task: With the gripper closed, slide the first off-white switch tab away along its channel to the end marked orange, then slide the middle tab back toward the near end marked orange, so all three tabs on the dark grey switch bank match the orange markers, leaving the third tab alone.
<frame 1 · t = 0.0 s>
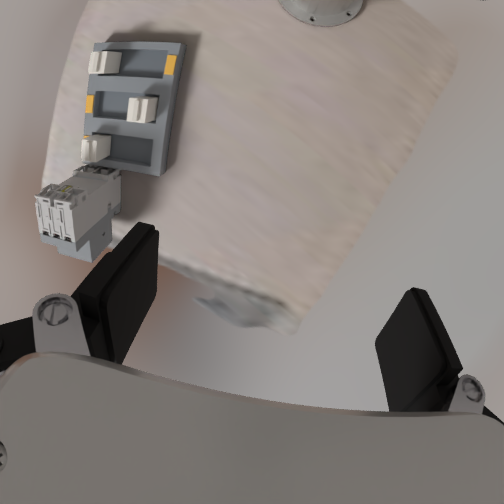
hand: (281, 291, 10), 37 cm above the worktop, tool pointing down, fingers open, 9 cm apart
tab 2: (143, 109, 38), point 4 cm above the worktop, slide at 8.0 cm
switch bank: (131, 104, 41), on the worktop
tab 3: (95, 147, 41), point 4 cm above the worktop, slide at 0.0 cm
circuit breaker: (104, 201, 51), on the worktop
tab 1: (104, 62, 34), point 4 cm above the worktop, slide at 0.0 cm
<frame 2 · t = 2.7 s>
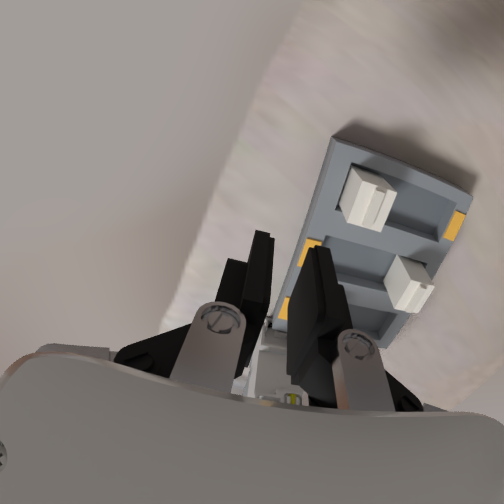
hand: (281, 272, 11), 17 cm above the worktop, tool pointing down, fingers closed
tab 2: (408, 284, 27), point 4 cm above the worktop, slide at 8.0 cm
switch bank: (366, 254, 30), on the worktop
circuit breaker: (278, 356, 40), on the worktop
tab 1: (366, 197, 23), point 4 cm above the worktop, slide at 0.0 cm
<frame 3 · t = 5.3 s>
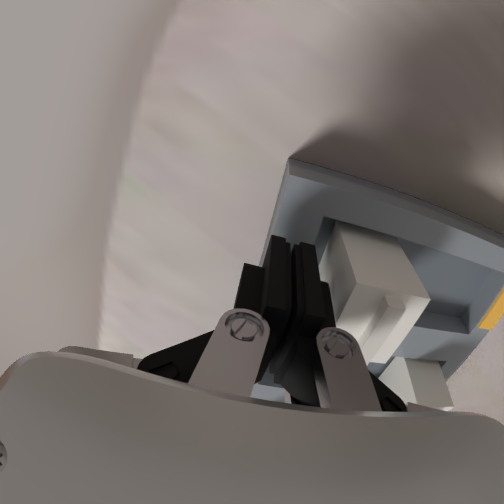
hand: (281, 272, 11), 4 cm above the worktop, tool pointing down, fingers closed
tab 2: (413, 396, 15), point 4 cm above the worktop, slide at 8.0 cm
switch bank: (352, 345, 19), on the worktop
tab 1: (363, 294, 11), point 4 cm above the worktop, slide at 0.6 cm, touching gripper
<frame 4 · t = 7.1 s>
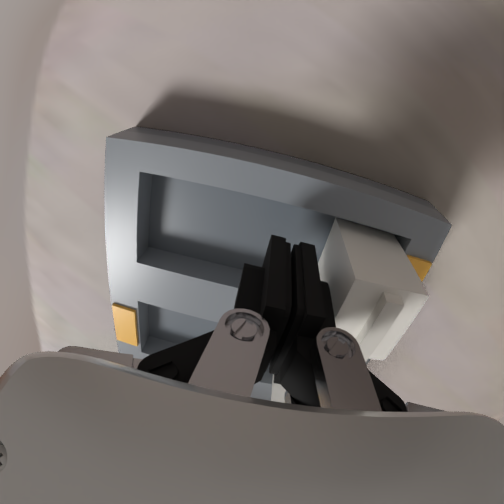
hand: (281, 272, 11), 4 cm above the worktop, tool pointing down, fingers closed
tab 2: (305, 385, 15), point 4 cm above the worktop, slide at 8.0 cm
switch bank: (243, 322, 18), on the worktop
tab 1: (362, 291, 12), point 4 cm above the worktop, slide at 8.0 cm, touching gripper
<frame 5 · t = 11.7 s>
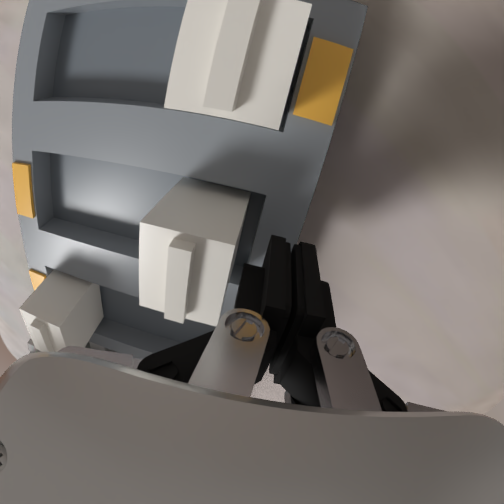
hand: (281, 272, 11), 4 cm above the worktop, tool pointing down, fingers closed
tab 2: (195, 248, 11), point 4 cm above the worktop, slide at 7.7 cm, touching gripper
switch bank: (148, 191, 15), on the worktop
tab 3: (62, 316, 15), point 4 cm above the worktop, slide at 0.0 cm
tab 1: (244, 58, 8), point 4 cm above the worktop, slide at 8.1 cm
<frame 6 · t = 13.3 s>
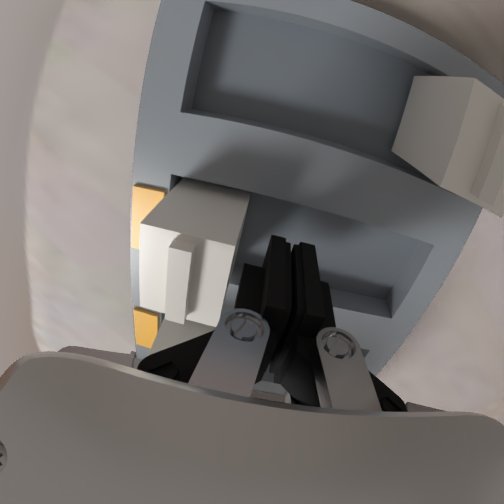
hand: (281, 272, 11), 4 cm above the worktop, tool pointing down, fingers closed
tab 2: (196, 249, 11), point 4 cm above the worktop, slide at -0.1 cm, touching gripper
switch bank: (297, 227, 15), on the worktop
tab 3: (185, 359, 15), point 4 cm above the worktop, slide at 0.0 cm
tab 1: (462, 138, 8), point 4 cm above the worktop, slide at 8.1 cm
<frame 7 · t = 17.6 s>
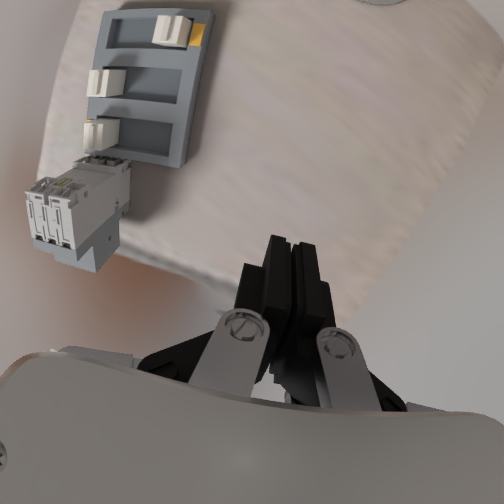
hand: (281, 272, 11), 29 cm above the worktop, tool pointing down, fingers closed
tab 2: (105, 82, 30), point 4 cm above the worktop, slide at -0.1 cm
switch bank: (146, 82, 33), on the worktop
tab 3: (100, 133, 33), point 4 cm above the worktop, slide at 0.0 cm
circuit breaker: (110, 199, 43), on the worktop
tab 1: (173, 31, 26), point 4 cm above the worktop, slide at 8.1 cm
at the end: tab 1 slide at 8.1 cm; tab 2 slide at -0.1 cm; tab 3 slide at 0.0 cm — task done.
